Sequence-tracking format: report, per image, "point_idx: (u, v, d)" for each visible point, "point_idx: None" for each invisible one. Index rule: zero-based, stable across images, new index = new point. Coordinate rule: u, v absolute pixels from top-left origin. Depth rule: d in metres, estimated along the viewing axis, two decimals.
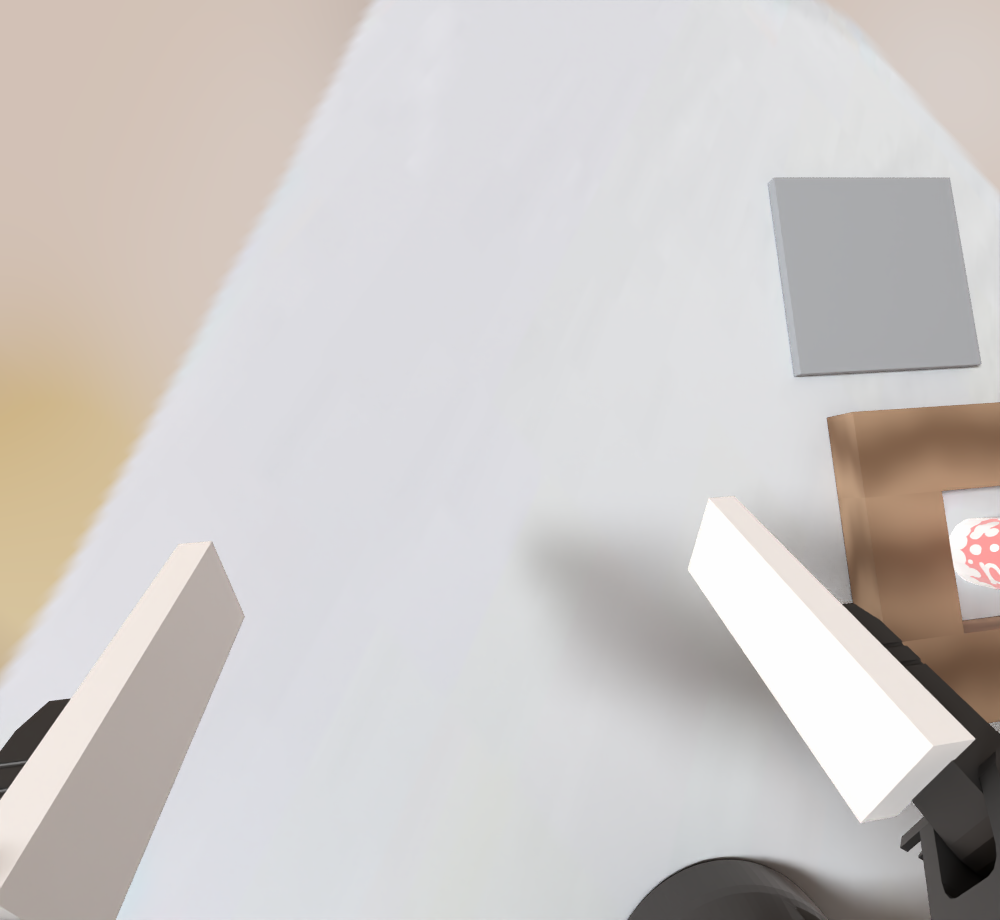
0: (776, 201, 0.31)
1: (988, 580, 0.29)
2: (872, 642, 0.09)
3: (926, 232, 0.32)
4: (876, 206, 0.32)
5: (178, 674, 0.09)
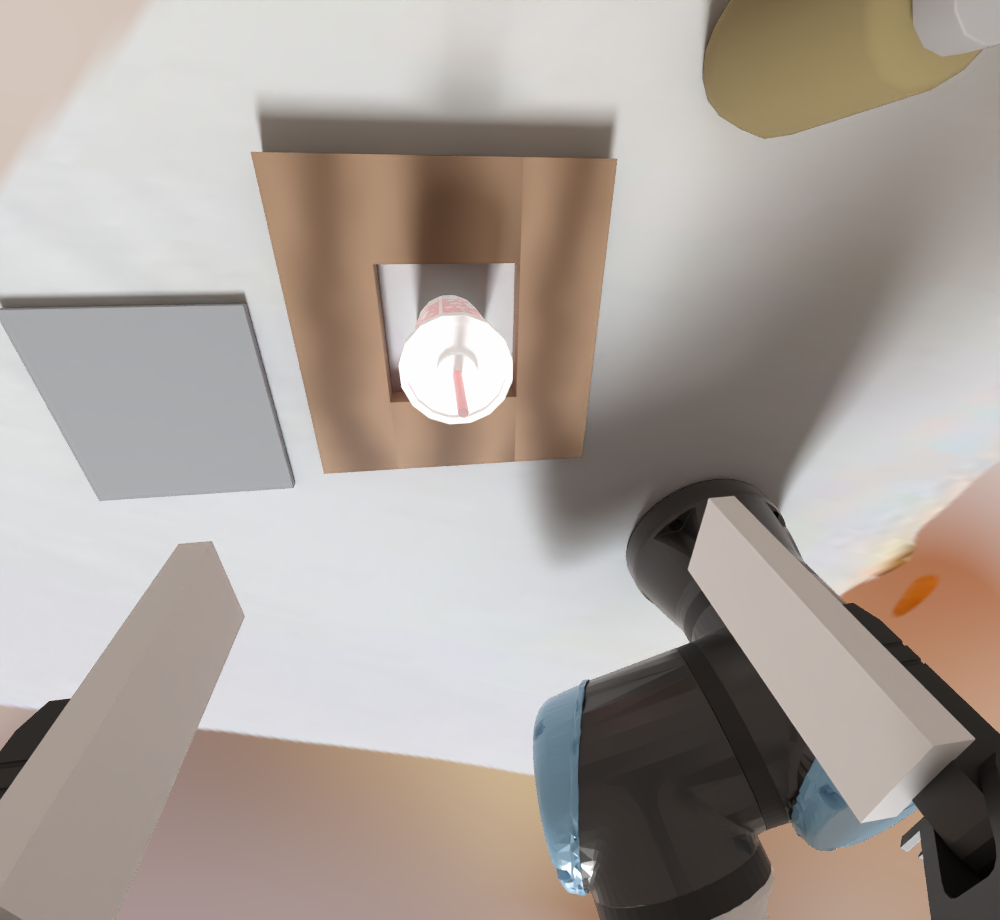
0: (124, 498, 0.34)
1: None
2: (872, 642, 0.09)
3: (91, 351, 0.29)
4: (83, 406, 0.30)
5: (178, 674, 0.09)
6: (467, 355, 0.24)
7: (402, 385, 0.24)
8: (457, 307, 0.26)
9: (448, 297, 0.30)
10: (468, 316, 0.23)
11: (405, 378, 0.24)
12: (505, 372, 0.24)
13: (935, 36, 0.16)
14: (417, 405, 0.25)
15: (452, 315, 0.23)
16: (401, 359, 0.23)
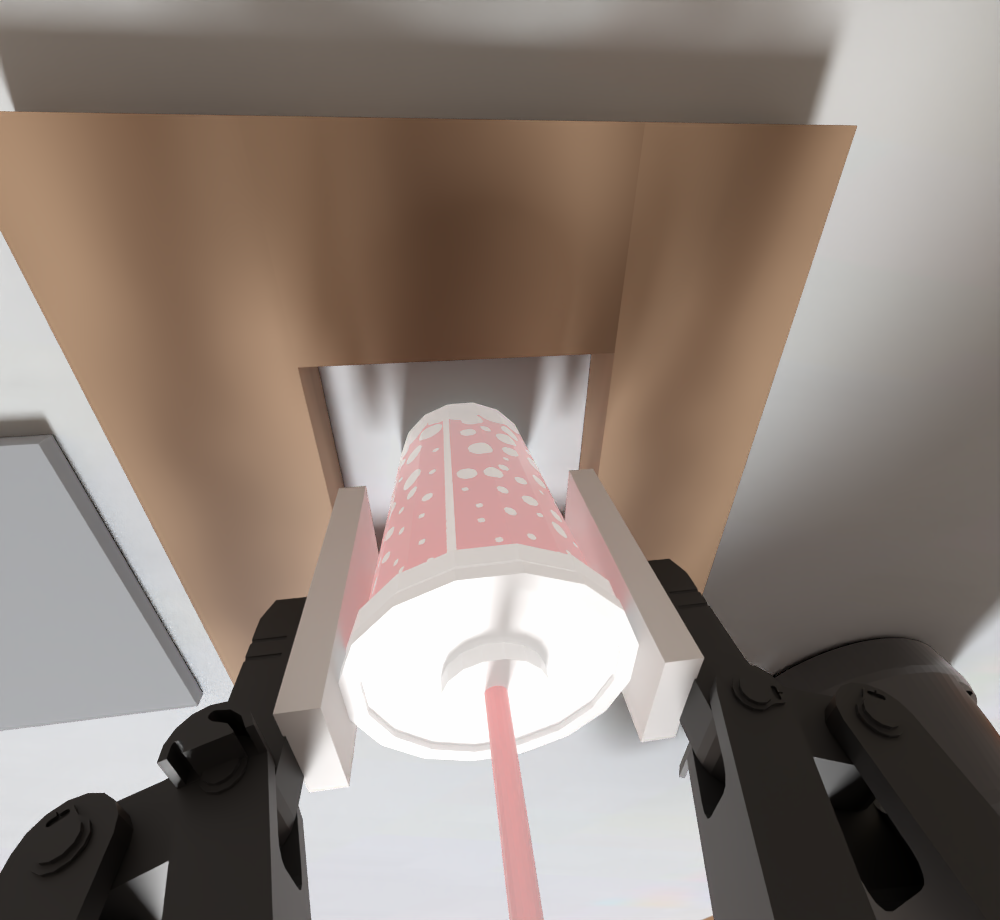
0: None
1: None
2: (659, 587, 0.10)
3: None
4: None
5: (361, 587, 0.11)
6: (522, 650, 0.09)
7: (352, 717, 0.09)
8: (487, 475, 0.11)
9: (462, 414, 0.15)
10: (532, 574, 0.08)
11: (359, 703, 0.09)
12: (615, 667, 0.10)
13: None
14: (394, 743, 0.10)
15: (486, 573, 0.08)
16: (344, 674, 0.08)
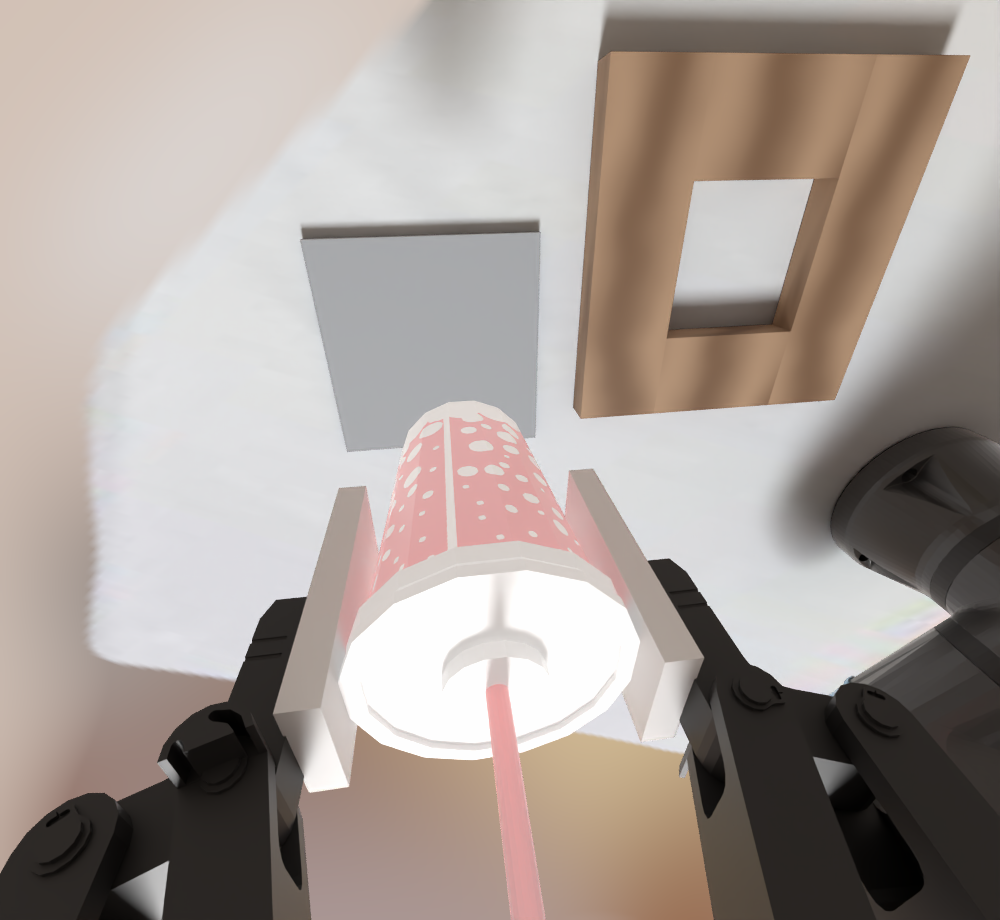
0: (370, 449, 0.33)
1: None
2: (658, 586, 0.10)
3: (381, 286, 0.28)
4: (358, 347, 0.29)
5: (361, 587, 0.11)
6: (524, 648, 0.09)
7: (352, 715, 0.09)
8: (488, 472, 0.11)
9: (462, 412, 0.15)
10: (533, 571, 0.08)
11: (359, 701, 0.09)
12: (617, 665, 0.10)
13: None
14: (394, 742, 0.10)
15: (487, 571, 0.08)
16: (345, 672, 0.08)
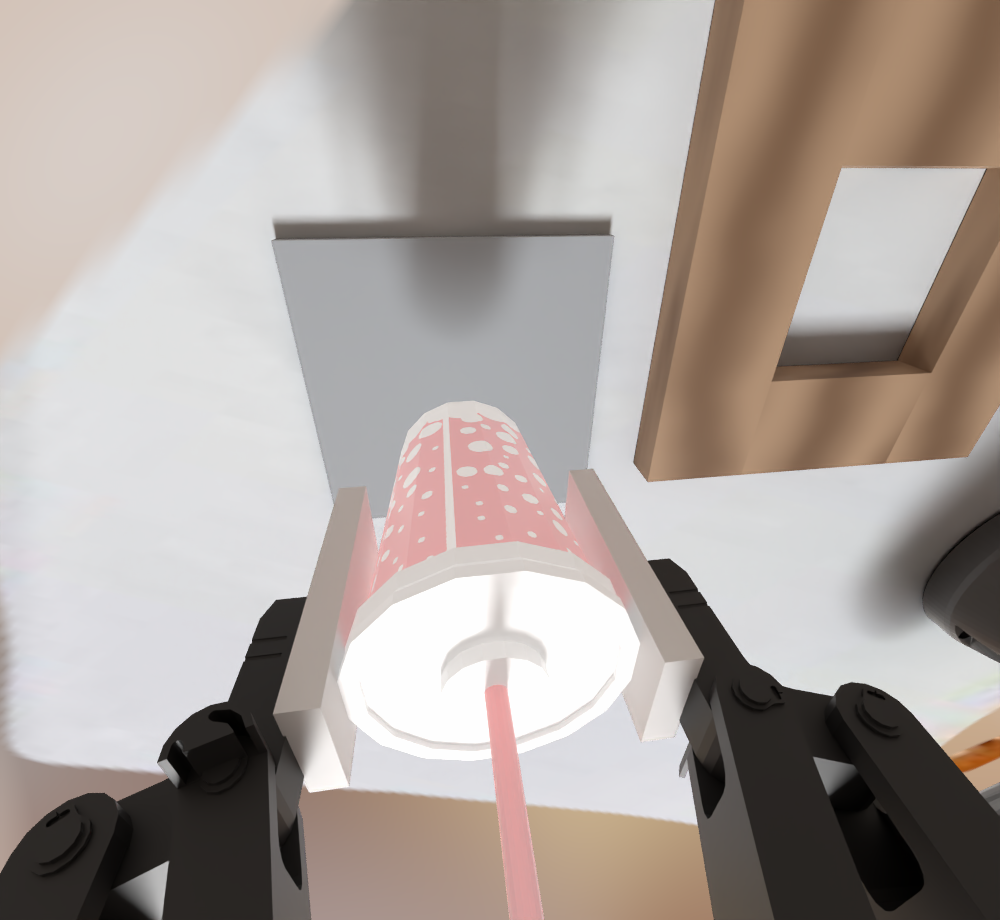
0: None
1: None
2: (659, 586, 0.10)
3: (388, 307, 0.20)
4: (354, 389, 0.21)
5: (361, 587, 0.11)
6: (523, 649, 0.09)
7: (351, 716, 0.09)
8: (487, 473, 0.11)
9: (462, 412, 0.15)
10: (532, 572, 0.08)
11: (358, 702, 0.09)
12: (616, 666, 0.10)
13: None
14: (393, 742, 0.10)
15: (486, 571, 0.08)
16: (343, 673, 0.08)
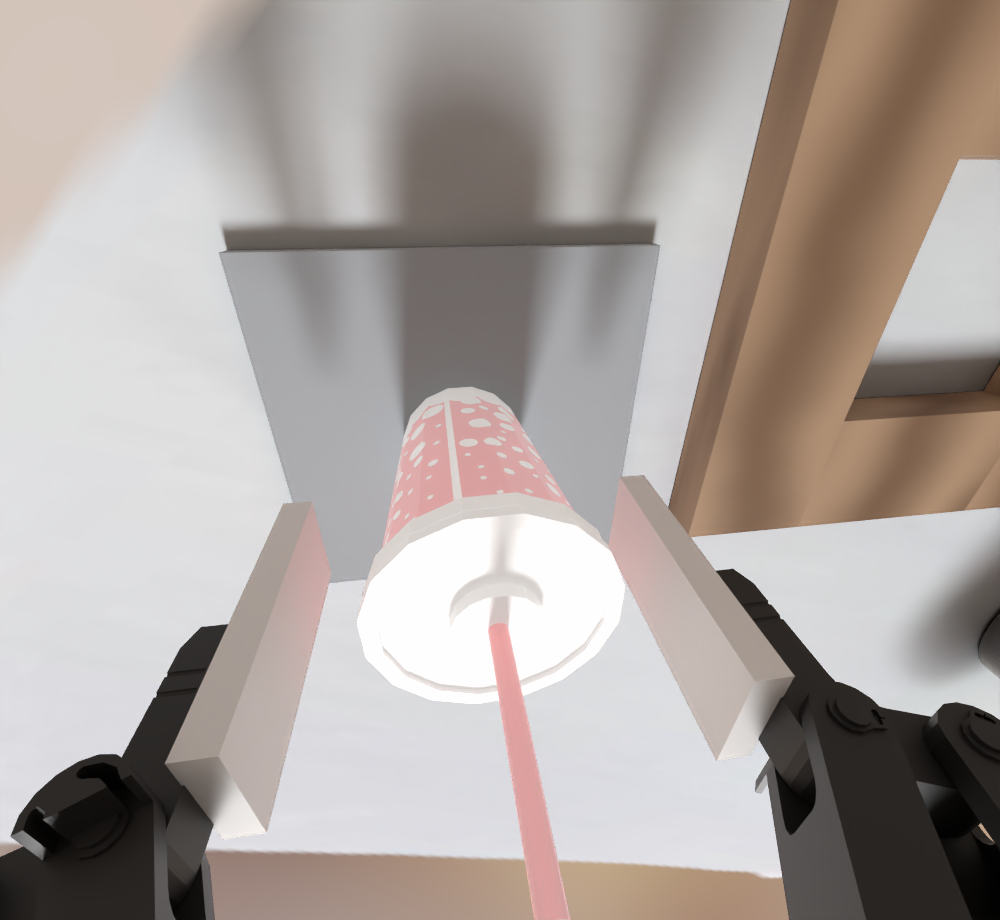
0: (354, 578, 0.21)
1: None
2: (732, 599, 0.10)
3: (373, 336, 0.15)
4: (333, 435, 0.17)
5: (298, 611, 0.11)
6: (522, 590, 0.10)
7: (368, 655, 0.10)
8: (487, 443, 0.12)
9: (461, 396, 0.16)
10: (530, 515, 0.09)
11: (375, 641, 0.10)
12: (604, 609, 0.11)
13: None
14: (405, 683, 0.11)
15: (490, 514, 0.09)
16: (363, 611, 0.09)
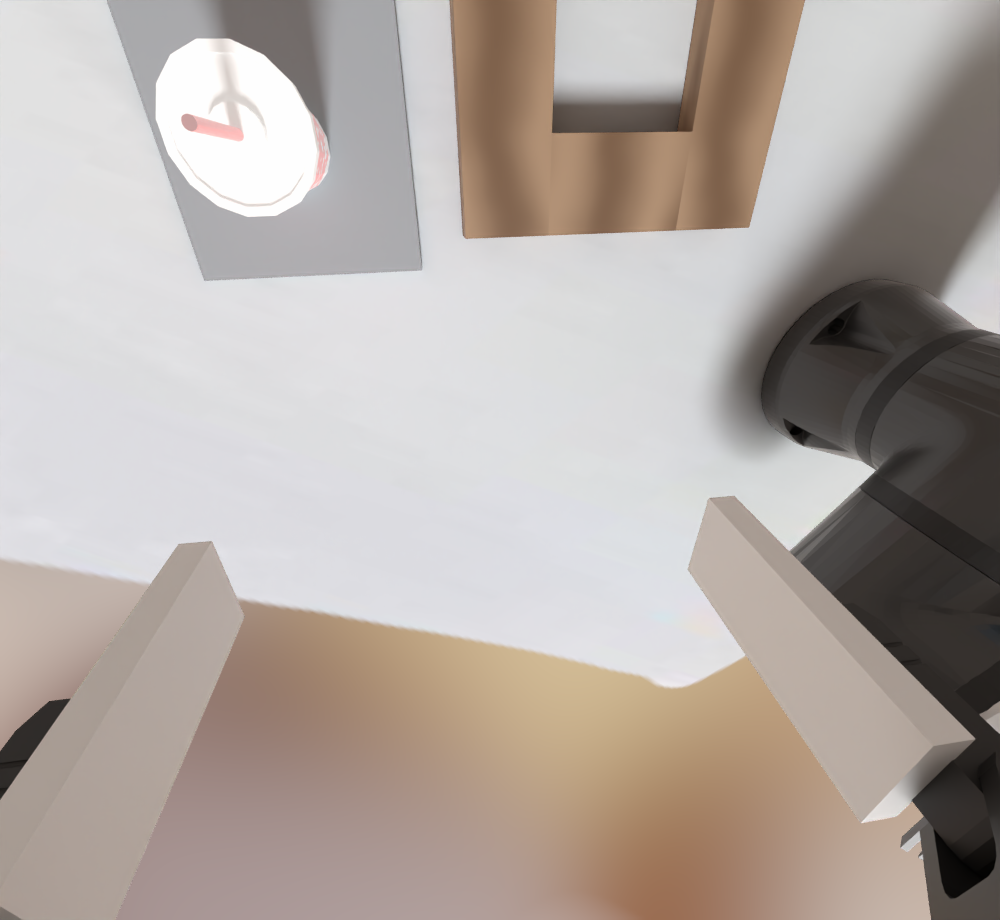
0: None
1: (317, 183, 0.26)
2: (872, 642, 0.09)
3: None
4: None
5: (178, 674, 0.09)
6: (246, 106, 0.18)
7: (169, 151, 0.19)
8: None
9: None
10: (234, 41, 0.17)
11: (171, 141, 0.19)
12: (305, 138, 0.19)
13: None
14: (197, 185, 0.20)
15: (212, 40, 0.17)
16: (157, 109, 0.18)
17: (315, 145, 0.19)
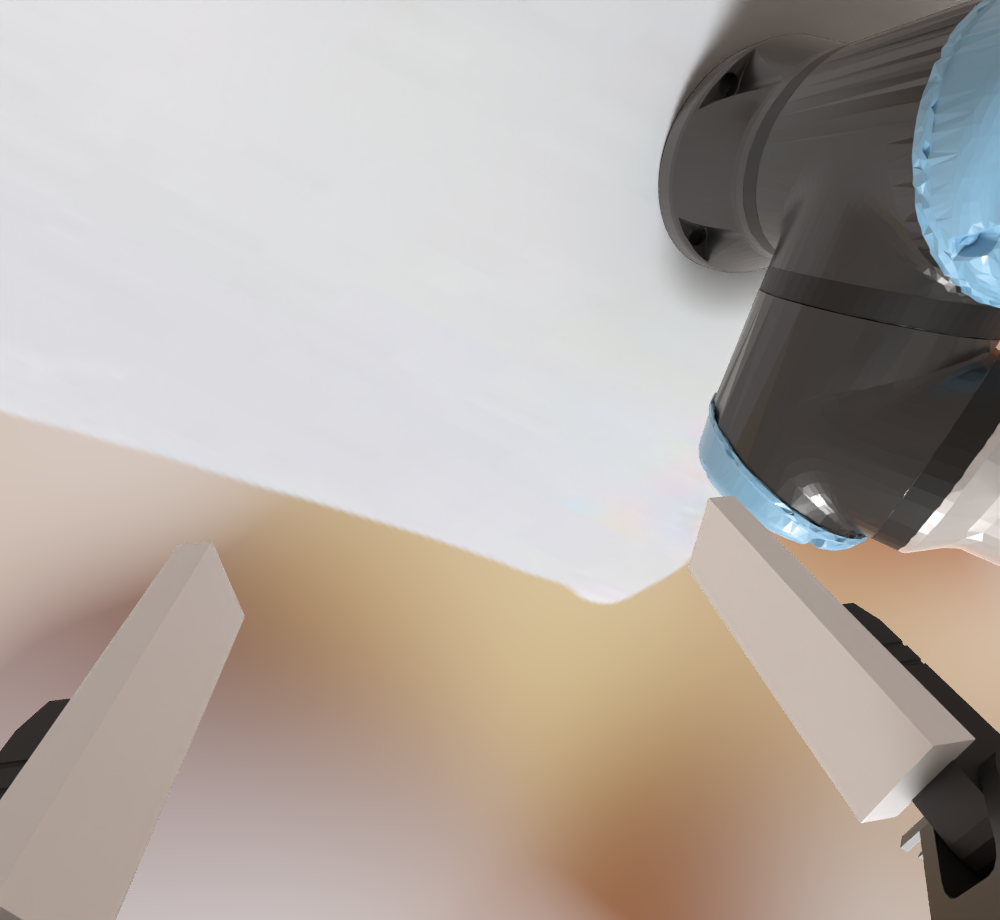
0: None
1: None
2: (873, 642, 0.09)
3: None
4: None
5: (178, 674, 0.09)
6: None
7: None
8: None
9: None
10: None
11: None
12: None
13: None
14: None
15: None
16: None
17: None
